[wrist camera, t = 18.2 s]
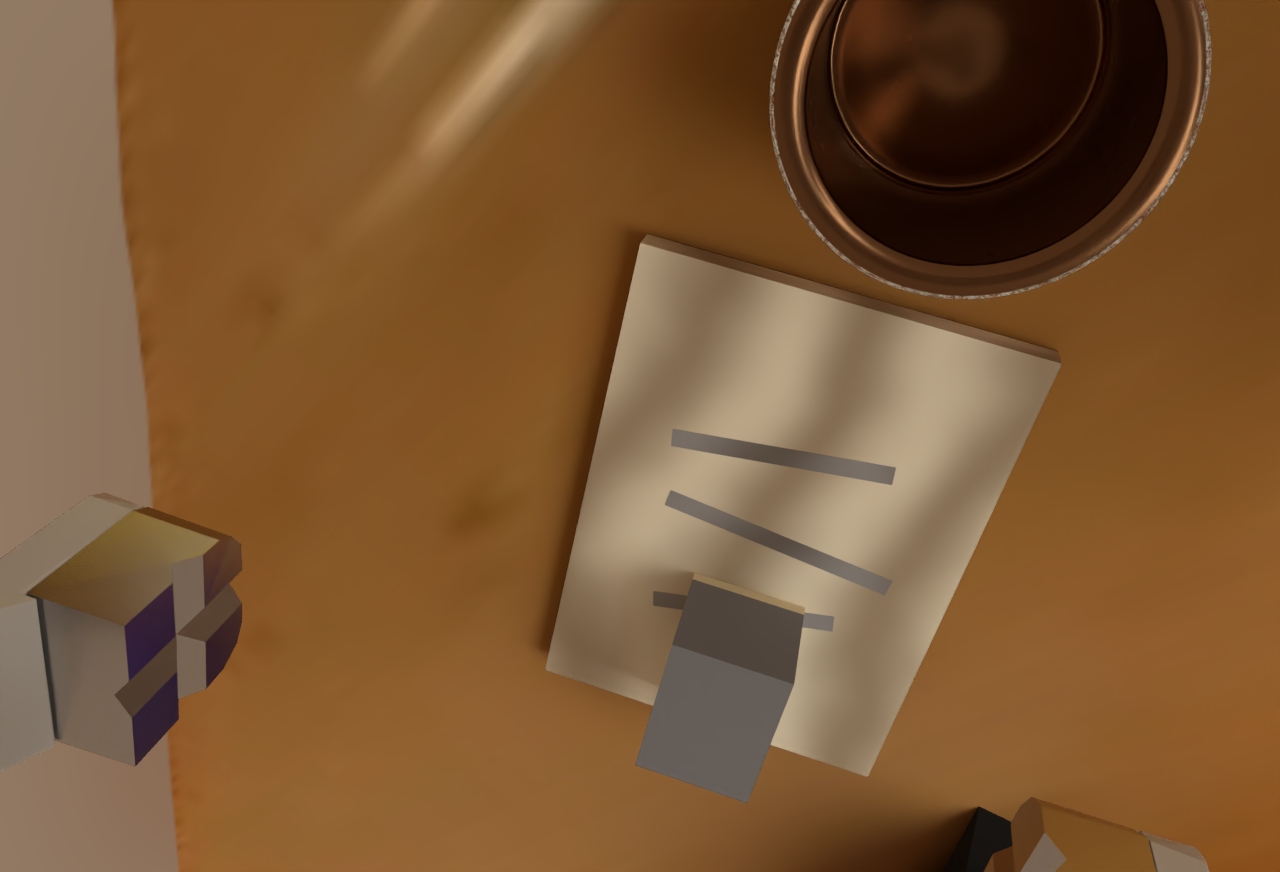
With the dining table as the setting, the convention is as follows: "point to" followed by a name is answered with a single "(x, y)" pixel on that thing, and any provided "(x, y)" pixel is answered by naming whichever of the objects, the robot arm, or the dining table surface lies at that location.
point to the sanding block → (723, 687)
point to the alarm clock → (980, 842)
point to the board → (790, 482)
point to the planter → (984, 131)
